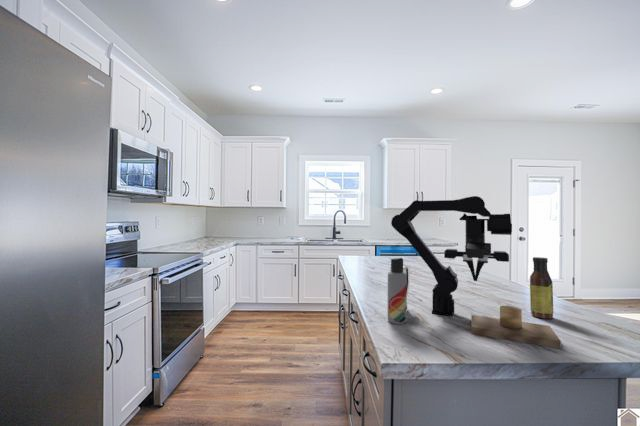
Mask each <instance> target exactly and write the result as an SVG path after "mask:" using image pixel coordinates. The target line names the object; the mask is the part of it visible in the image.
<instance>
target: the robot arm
mask: <svg viewBox="0 0 640 426" xmlns="http://www.w3.org/2000/svg"><path fill="white" fill-rule="evenodd" d="M485 206H486V203H485V200H484V199H483V198H482V197H480V196H478V195H474V196H467V197H463V198H458V199H450V200H449V199H448V200H446V199H445V200H444V199H443V200H413V201H412V202H411V204H409V206H408V207H406V208H405V209H404V210H403V211H401V213H400V214H396V215H394V216H393V217H392V218H391V222H390V223H391V226H392V228H393V229H394V230H395V231H396V232H397V233H398V234H400V235H401V236H402V237H404V238H405V239H406V240H407V241H408V243H409V244H410V245H411V246H412V247H413V249H414V250H415V251H416V253H417V254H418V255H419V256H420V258H421V260H423V261H424V263H425V264H426V266H428V268H429V269H430V270H431V272H432V274H433V277H434V279H435V281H436V284H435V285H434V287H433V289H432V291H431V292H432V309H431V314H436V315H443V316H449V317H450V316H451V317H452V316H453V314H454V313H455V299H454V298H453V294H452V293H454V292H455V291H456V290H457V288H458V285H459V278H458V274H457V273H455V272H454V271H453V268H452V267H451V266H450V265H448V266H447V267H446V266H445V265H443V264H442V263H441V262H440V260H439V259H438V258H437V257H436V255H434V254H435V253H433V252H432V250H431V249H430V248H429V246H428V245H426V243H425V242H424V240H423V239H422V238H421V237H420V235H419V234H418V233H417V231H416V228H415V227H414V225H413V223H412V221H413V220H414V219H415V218H416V217H417V216H418V215H419V214H420V212H452V211H453V212H460V213H463V214H462V216H461V217H459V220H460V221H465V222H464V223H465V246H464V248H465V249H464V251H459V250H458V249H457V248H446V249H445V250H444V256H443V257H444V259H453V260H454V259H456V258H457V257H459V258H462V262H464V263H466V265H467V266H468V268H469V271H470V273H471V277H472V278H473V281H474V282H477V281H478V278H479V276H480V273H481V270H482V269H483V267H484V265H485V264H488V263H489V261H488V260H489V259H493V260H495V261H497V262H503V263H505V262H506V263H509V262H510V255H509V253H508V252H506V251H503V250H493V252H492V243H490V242H486V235H485V233H486V231H487V232H490V235H497V236H498V235H500V236H501V235H502V236H503V235H504V236H506V235H507V236H512V232H513V224H512V219H511V213H501V214H494V213H493V214H492V213H491V212H490V211H489V210H488V209H487V208H486V207H485ZM466 213H467V214H472V215H467V214H466ZM477 215H479V216H481V217H483V218H478V216H477ZM485 223H486V225H485ZM485 228H486V229H485ZM475 258H476V259H477V262H476V266H475V264H474V259H475ZM475 267H476V268H475Z"/></svg>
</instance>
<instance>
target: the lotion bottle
mask: <svg viewBox="0 0 640 426" xmlns="http://www.w3.org/2000/svg"><path fill="white" fill-rule="evenodd" d="M390 267H391V272H390V271H389V272H387V322H389V323H391V324H394V325H395V324H396V325H403V324H406V322H407V311H406V273H403V267H404V259H403V258H402V257H396V258H391V259H390Z"/></svg>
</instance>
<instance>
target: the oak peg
mask: <svg viewBox="0 0 640 426" xmlns="http://www.w3.org/2000/svg"><path fill="white" fill-rule="evenodd" d="M522 313H523V312H522V309H521V308H519V307H515V306H510V305H501V306H500V307H499V319H500V325H501V326H502V327H505V328H509V329H516V330H519V329H522V322H523V321H522V319H523V318H522Z"/></svg>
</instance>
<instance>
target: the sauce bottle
mask: <svg viewBox="0 0 640 426" xmlns="http://www.w3.org/2000/svg"><path fill="white" fill-rule="evenodd" d="M548 261H549V260H548V257H544V256H543V257H541V256H540V257H539V256H533V257H532V262H533V271H532V273H531V275H530V276H529V299H530V300H529V301H530V302H529V304H530V306H529V307H530V313H531V316H533V317H535V318H538V319H546V320H550V319H553V317H554V293H553V289H554V287H553V285H554V284H553V281H552V278H551V276H550V273H549V270H548Z"/></svg>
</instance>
